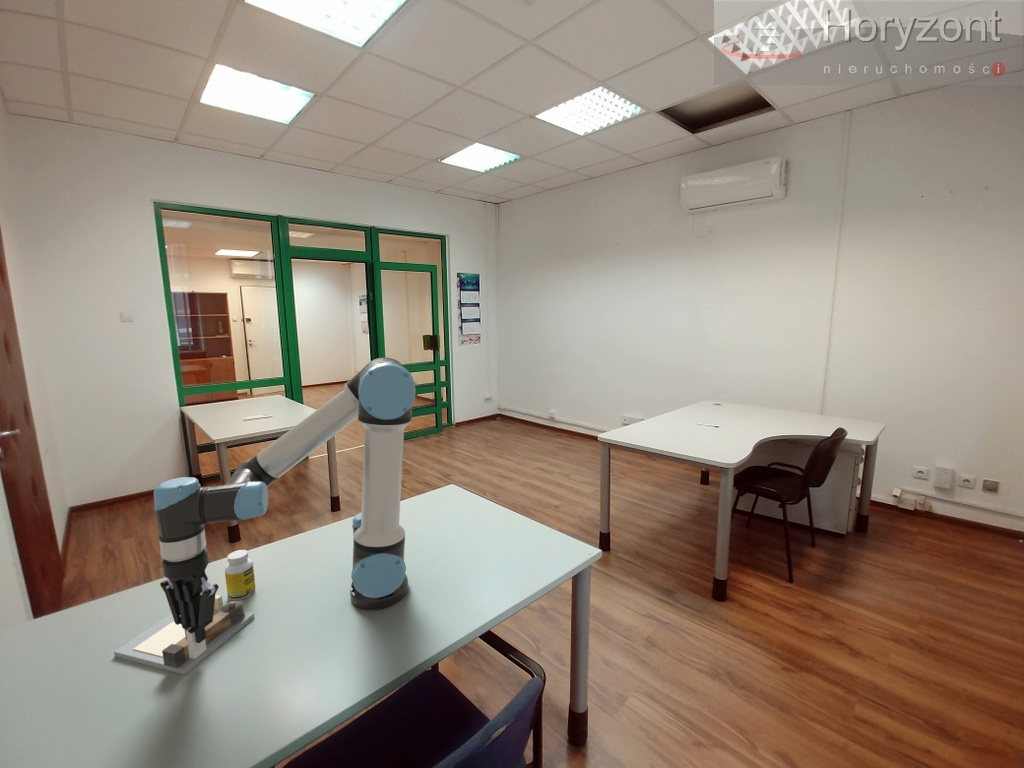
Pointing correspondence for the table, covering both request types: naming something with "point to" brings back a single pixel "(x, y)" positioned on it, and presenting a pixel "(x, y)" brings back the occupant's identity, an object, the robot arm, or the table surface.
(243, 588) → the pill bottle
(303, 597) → the table surface
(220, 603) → the board
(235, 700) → the table surface
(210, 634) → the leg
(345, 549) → the table surface
